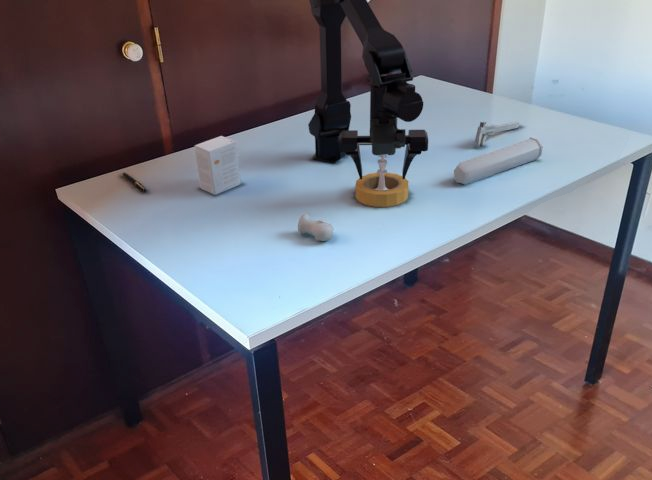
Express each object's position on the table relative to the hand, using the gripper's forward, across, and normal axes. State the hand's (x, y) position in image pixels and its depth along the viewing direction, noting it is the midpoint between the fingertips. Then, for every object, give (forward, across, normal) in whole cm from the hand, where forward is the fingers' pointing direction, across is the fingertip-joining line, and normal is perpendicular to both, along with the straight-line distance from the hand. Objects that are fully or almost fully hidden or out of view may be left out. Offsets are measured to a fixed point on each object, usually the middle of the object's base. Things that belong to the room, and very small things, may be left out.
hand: (382, 178), depth 156 cm
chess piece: (+4, 0, 0) cm, 4 cm away
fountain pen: (+4, -58, +7) cm, 59 cm away
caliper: (+4, +31, +35) cm, 47 cm away
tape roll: (+4, 0, 0) cm, 4 cm away
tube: (+4, +27, +13) cm, 30 cm away
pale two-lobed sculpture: (+4, -13, -19) cm, 24 cm away
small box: (+4, -37, +5) cm, 38 cm away
